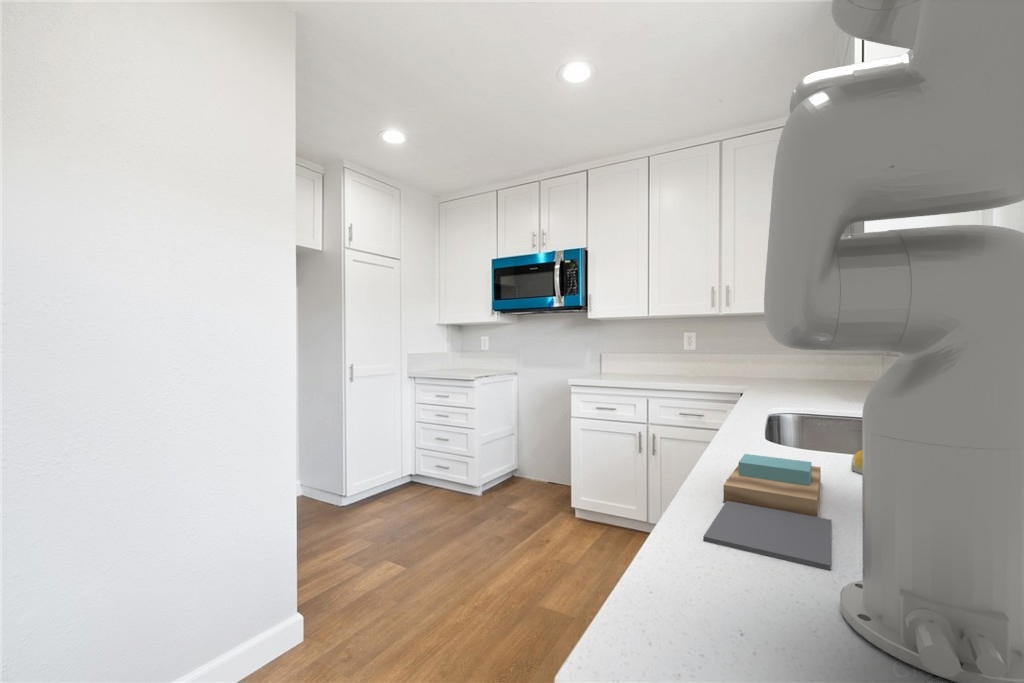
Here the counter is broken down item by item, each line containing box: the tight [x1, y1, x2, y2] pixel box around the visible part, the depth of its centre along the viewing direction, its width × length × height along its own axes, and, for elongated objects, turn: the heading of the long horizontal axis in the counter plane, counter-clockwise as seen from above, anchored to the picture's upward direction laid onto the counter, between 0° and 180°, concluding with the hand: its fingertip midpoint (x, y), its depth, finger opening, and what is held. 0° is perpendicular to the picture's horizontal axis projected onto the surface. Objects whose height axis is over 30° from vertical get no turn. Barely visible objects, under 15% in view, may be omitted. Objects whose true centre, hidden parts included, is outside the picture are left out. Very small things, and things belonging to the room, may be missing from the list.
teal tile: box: [738, 453, 812, 486], centre depth 69 cm, size 6×9×2 cm, turn 55°
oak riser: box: [723, 464, 822, 517], centre depth 69 cm, size 18×11×2 cm, turn 145°
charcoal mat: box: [702, 501, 832, 571], centre depth 55 cm, size 14×12×1 cm
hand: (824, 301), depth 68 cm, fingers open, 9 cm apart
